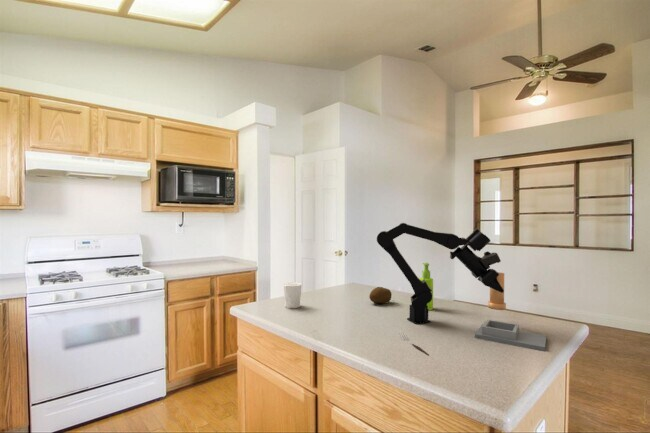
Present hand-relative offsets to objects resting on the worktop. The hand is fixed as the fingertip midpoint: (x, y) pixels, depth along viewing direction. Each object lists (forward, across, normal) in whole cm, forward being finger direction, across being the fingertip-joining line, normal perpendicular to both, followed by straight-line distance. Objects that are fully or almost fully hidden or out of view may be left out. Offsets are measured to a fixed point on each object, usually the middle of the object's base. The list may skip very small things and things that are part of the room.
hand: (501, 290), depth 129 cm
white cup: (-49, +10, +69) cm, 86 cm away
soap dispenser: (-8, +21, +28) cm, 35 cm away
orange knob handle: (+4, 0, +6) cm, 7 cm away
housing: (+9, -13, +10) cm, 18 cm away
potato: (-22, +24, +42) cm, 53 cm away
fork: (-13, -27, +33) cm, 44 cm away
